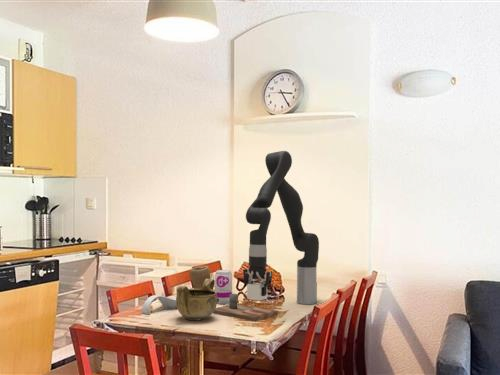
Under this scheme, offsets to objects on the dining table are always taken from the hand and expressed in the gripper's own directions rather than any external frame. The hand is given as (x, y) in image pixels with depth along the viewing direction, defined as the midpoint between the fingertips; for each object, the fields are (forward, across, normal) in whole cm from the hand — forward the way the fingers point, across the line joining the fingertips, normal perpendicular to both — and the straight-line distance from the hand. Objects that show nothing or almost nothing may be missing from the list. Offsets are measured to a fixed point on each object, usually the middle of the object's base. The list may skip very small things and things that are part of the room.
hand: (257, 294), depth 221 cm
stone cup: (+9, +47, -18) cm, 51 cm away
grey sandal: (+9, +39, +16) cm, 43 cm away
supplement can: (+9, +29, -12) cm, 33 cm away
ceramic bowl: (+9, +16, +20) cm, 27 cm away
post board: (+9, +7, 0) cm, 11 cm away
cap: (+2, 0, 0) cm, 2 cm away
